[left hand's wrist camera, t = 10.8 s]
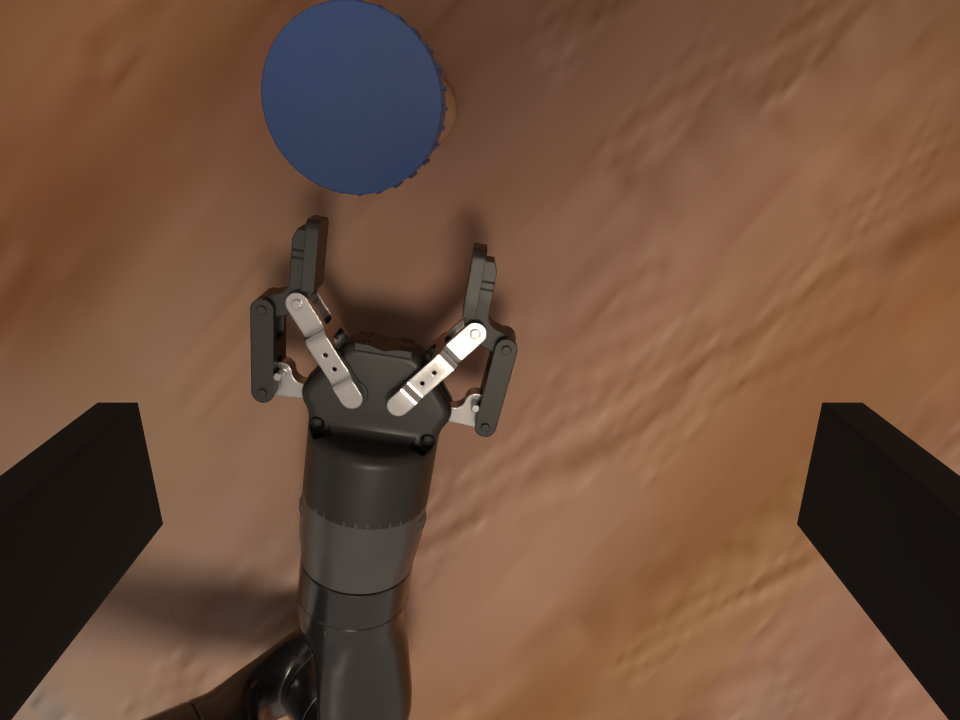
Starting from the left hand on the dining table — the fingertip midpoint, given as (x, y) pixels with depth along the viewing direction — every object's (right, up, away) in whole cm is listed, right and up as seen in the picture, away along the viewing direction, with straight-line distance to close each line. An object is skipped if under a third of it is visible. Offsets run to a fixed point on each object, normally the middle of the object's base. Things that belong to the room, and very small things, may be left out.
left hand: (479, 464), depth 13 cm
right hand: (-4, +9, +21) cm, 23 cm away
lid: (-4, +9, +6) cm, 12 cm away
